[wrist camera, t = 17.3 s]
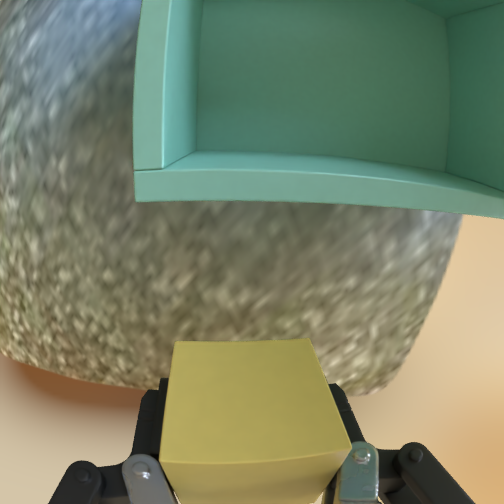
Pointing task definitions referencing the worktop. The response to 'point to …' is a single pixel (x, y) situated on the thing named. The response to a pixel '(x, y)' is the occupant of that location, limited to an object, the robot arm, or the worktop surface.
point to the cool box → (321, 103)
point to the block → (250, 423)
